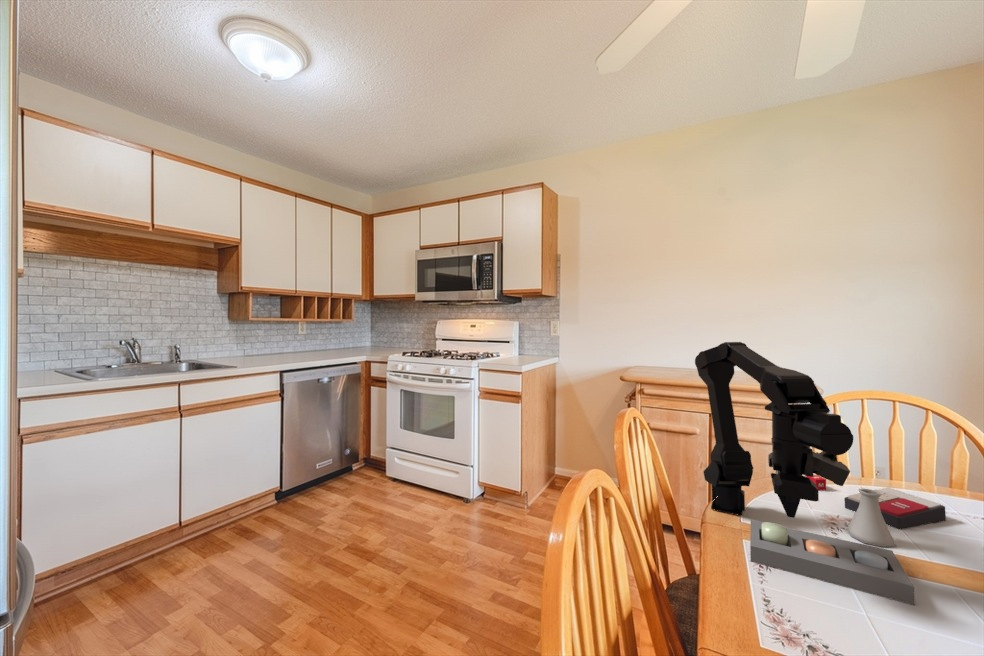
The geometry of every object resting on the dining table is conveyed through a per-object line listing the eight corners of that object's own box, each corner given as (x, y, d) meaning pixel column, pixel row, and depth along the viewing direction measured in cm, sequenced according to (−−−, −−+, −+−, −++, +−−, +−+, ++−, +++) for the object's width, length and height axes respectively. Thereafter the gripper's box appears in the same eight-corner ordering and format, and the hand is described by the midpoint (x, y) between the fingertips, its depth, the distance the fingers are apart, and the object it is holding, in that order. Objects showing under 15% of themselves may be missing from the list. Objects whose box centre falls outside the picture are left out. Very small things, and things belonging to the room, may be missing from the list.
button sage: (762, 545, 77) (761, 529, 77) (761, 535, 80) (761, 520, 80) (788, 551, 74) (788, 535, 74) (787, 541, 78) (786, 525, 78)
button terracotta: (807, 564, 73) (807, 547, 73) (805, 553, 76) (804, 537, 76) (837, 572, 70) (836, 554, 70) (833, 560, 74) (832, 543, 74)
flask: (905, 549, 78) (904, 500, 78) (862, 546, 79) (861, 497, 79) (877, 531, 85) (876, 485, 85) (838, 528, 86) (838, 483, 86)
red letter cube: (816, 490, 106) (816, 479, 106) (806, 486, 109) (806, 475, 109) (826, 490, 106) (826, 479, 106) (816, 485, 109) (816, 475, 109)
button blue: (857, 577, 69) (857, 559, 69) (852, 565, 72) (852, 548, 72) (891, 585, 66) (890, 567, 66) (884, 572, 70) (883, 555, 70)
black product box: (843, 494, 96) (887, 484, 99) (844, 511, 96) (888, 501, 99) (898, 514, 85) (946, 503, 89) (900, 534, 85) (947, 521, 89)
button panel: (750, 561, 75) (750, 545, 75) (750, 533, 84) (750, 519, 84) (914, 605, 62) (914, 586, 62) (892, 566, 72) (892, 550, 72)
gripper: (857, 459, 64) (858, 553, 64) (834, 431, 79) (834, 507, 79) (774, 448, 70) (775, 534, 70) (767, 425, 85) (768, 495, 86)
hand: (790, 516), depth 76 cm, fingers closed
